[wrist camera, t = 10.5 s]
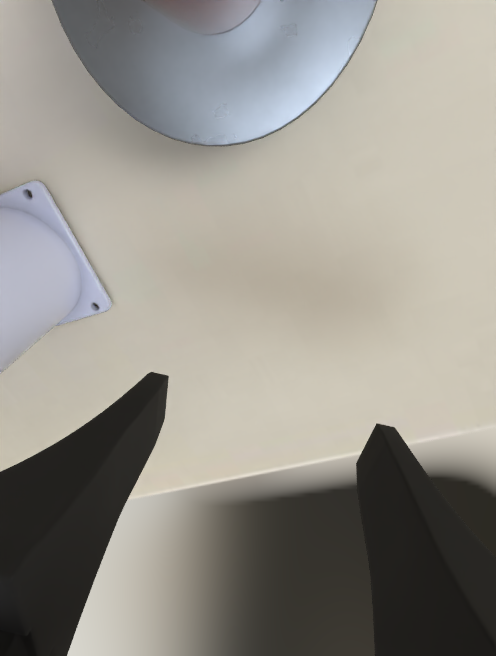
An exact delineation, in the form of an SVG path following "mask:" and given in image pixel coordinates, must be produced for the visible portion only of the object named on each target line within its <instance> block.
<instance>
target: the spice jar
mask: <svg viewBox="0 0 496 656" xmlns="http://www.w3.org/2000/svg"><path fill="white" fill-rule="evenodd" d="M141 1H142V2H144V3H145V4H147V5H148V6H149V7H151V8H152V9H154V10H155V11H157V12H158V13H160V14H161V15H163V16H164V17H166V18H167V19H168V20H170V21H171V22H173V23H174V24H176V25H177V26H179V27H180V28H182V29H184V30H187V31H189V32H192V33H195V34H202V35H214V34H219V33H223V32H226V31H228V30H231V29H232V28H234V27H236V26H238V25H239V24H240V23H242V22H243V21H244V20H245V19H246V18H247V17H248V16H249V15H250V14H251V13H252V12H253V11H254V9H255V8H256V7H257V5H258V4H259V3H260V1H261V0H141Z"/></svg>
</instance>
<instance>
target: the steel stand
mask: <svg viewBox="0 0 496 656" xmlns="http://www.w3.org/2000/svg"><path fill="white" fill-rule="evenodd" d="M52 3H53V5H54V8H55V10H56V13H57V15H58V18H59V20H60V23H61V25H62V27H63V29H64V31H65V33H66V35H67V37H68V39H69V41H70V43H71V45H72V47H73V49H74V50H75V52H76V54H77V55H78V57H79V58H80V60H81V61H82V63H83V64H84V66H85V68H86V69H87V71H88V72H89V73H90V75H91V76H92V77H93V78H94V80H95V81H96V82H97V83H98V85H99V86H100V87H101V88H102V90H103V91H104V92H105V93H106V94H107V95H108V96H109V97H110V98H111V99H112V100H113V101H114V102H115V103H116V104H117V105H118V106H119V107H120V108H122V109H123V110H124V111H125V112H127V113H128V114H129V115H130V116H132V117H133V118H134V119H135V120H137V121H139V122H140V123H142V124H143V125H145V126H147V127H148V128H150V129H152V130H153V131H155V132H158V133H160V134H162V135H164V136H167V137H169V138H171V139H175V140H178V141H181V142H185V143H188V144H194V145H201V146H231V145H238V144H244V143H248V142H251V141H254V140H257V139H261V138H264V137H266V136H268V135H270V134H272V133H274V132H276V131H278V130H281V129H282V128H284V127H285V126H287V125H288V124H290V123H292V122H293V121H295V120H296V119H298V118H299V117H300V116H301V115H303V114H304V113H305V112H306V111H307V110H309V109H310V108H311V107H312V106H313V105H314V104H316V103H317V102H318V100H319V99H320V98H321V97H322V96H323V95H324V94H325V93H326V92H327V91H328V90H329V88H330V87H331V86H332V85H333V84H334V82H335V81H336V80H337V78H338V77H339V76H340V74H341V73H342V71H343V70H344V69H345V67H346V66H347V64H348V63H349V61H350V59H351V57H352V56H353V54H354V52H355V51H356V49H357V47H358V45H359V44H360V42H361V40H362V37H363V35H364V33H365V31H366V29H367V26H368V24H369V22H370V20H371V17H372V15H373V12H374V9H375V6H376V3H377V0H261V1H260V3H259V4H258V5H257V7H256V8H255V9H254V11H253V12H252V13H251V14H250V15H249V16H248V17H247V18H246V19H245V20H244V21H243V22H242V23H240V24H239V25H238V26H236V27H234V28H232V29H231V30H228V31H226V32H223V33H219V34H214V35H202V34H195V33H192V32H189V31H187V30H184V29H182V28H180V27H179V26H177V25H176V24H174V23H173V22H171V21H170V20H168V19H167V18H166V17H164V16H163V15H161V14H160V13H158V12H157V11H155V10H154V9H152V8H151V7H149V6H148V5H147V4H145V3H144V2H142V1H141V0H52Z"/></svg>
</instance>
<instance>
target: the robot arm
mask: <svg viewBox="0 0 496 656" xmlns="http://www.w3.org/2000/svg"><path fill="white" fill-rule="evenodd" d="M28 190H30V192H31V193H32V197H30V196H29V195H28V192H27V191H28ZM94 303H96V304H97V305H98V306H99V308H97V307H96V306H95V305H94ZM111 306H112V302H111V300H110V298H109V296H108V295H107V293H106V291H105V289H104V288H103V286H102V284H101V282H100V280H99V279H98V277H97V275H96V273H95V272H94V270H93V268H92V266H91V265H90V263H89V261H88V259H87V258H86V256H85V254H84V252H83V251H82V249H81V247H80V245H79V244H78V242H77V240H76V238H75V237H74V235H73V233H72V231H71V230H70V228H69V226H68V224H67V223H66V221H65V219H64V217H63V216H62V214H61V212H60V210H59V209H58V207H57V205H56V203H55V202H54V200H53V198H52V196H51V195H50V193H49V191H48V189H47V188H46V186H45V185H44V184H43V183H42V182H41V181H38V180H35V181H30V182H28V183H26V184H23V185H21V186H19V187H16V188H14V189H12V190H9V191H7V192H5V193H2V194H0V374H1V373H2V372H3V371H4V370H5V369H6V368H8V367H9V366H10V365H11V364H12V363H13V362H14V361H16V360H17V359H18V358H19V357H20V356H21V355H22V354H23V353H25V352H26V351H27V350H28V349H29V348H30V347H31V346H33V345H34V344H35V343H36V342H37V341H38V340H39V339H40V338H42V337H43V336H44V335H45V334H46V333H47V332H48V331H50V330H51V329H52V328H53V327H54V326H57V325H61V324H64V323H68V322H71V321H75V320H78V319H82V318H85V317H88V316H92V315H95V314H99V313H102V312H106V311H108V310H109V309H110V308H111ZM168 377H169V376H167V375H162V374H158V373H154V372H150V373H148V374H147V375H146V376H145V377H144V378H143V379H142V380H141V381H139V382H138V383H137V384H136V385H135V386H134V387H133V388H131V389H130V390H129V391H128V392H127V393H126V394H124V395H123V396H122V397H121V398H120V399H118V400H117V401H116V402H114V403H113V404H112V405H111V406H109V407H108V408H107V409H106V410H104V411H103V412H102V413H100V414H99V415H98V416H96V417H95V418H93V419H92V420H91V421H89V422H88V423H86V424H85V425H84V426H82V427H81V428H79V429H78V430H76V431H75V432H73V433H71V434H70V435H68V436H67V437H65V438H63V439H62V440H60V441H59V442H57V443H55V444H54V445H52V446H50V447H48V448H46V449H45V450H43V451H41V452H39V453H37V454H36V455H34V456H32V457H30V458H28V459H26V460H24V461H22V462H20V463H18V464H16V465H14V466H12V467H10V468H8V469H5V470H3V471H1V472H0V656H67V654H68V651H69V648H70V645H71V642H72V640H73V636H74V634H75V631H76V628H77V625H78V622H79V620H80V617H81V614H82V612H83V609H84V606H85V603H86V601H87V598H88V595H89V593H90V590H91V587H92V585H93V582H94V579H95V577H96V574H97V571H98V569H99V566H100V564H101V561H102V559H103V556H104V553H105V551H106V548H107V546H108V543H109V541H110V538H111V536H112V533H113V531H114V528H115V526H116V523H117V521H118V518H119V516H120V514H121V512H122V509H123V507H124V505H125V503H126V501H127V499H128V497H129V495H130V493H131V491H132V489H133V488H134V486H135V484H136V482H137V480H138V478H139V476H140V474H141V472H142V470H143V468H144V466H145V464H146V462H147V460H148V458H149V456H150V454H151V452H152V450H153V448H154V446H155V444H156V441H157V438H158V436H159V433H160V430H161V428H162V425H163V422H164V419H165V409H166V398H167V388H168ZM356 466H357V493H358V500H359V506H360V513H361V519H362V524H363V531H364V536H365V543H366V549H367V555H368V561H369V568H370V576H371V590H372V604H373V621H374V642H375V656H496V557H495V556H494V555H493V554H492V553H491V552H490V551H489V550H488V549H487V548H486V546H485V545H484V544H483V543H482V542H481V541H480V540H479V538H478V537H477V536H476V535H475V534H474V533H473V532H472V531H471V530H470V529H469V527H468V526H467V525H466V524H465V523H464V522H463V520H462V519H461V518H460V517H459V515H458V514H457V513H456V512H455V510H454V509H453V508H452V507H451V505H450V504H449V503H448V502H447V500H446V499H445V498H444V497H443V495H442V494H441V493H440V491H439V490H438V489H437V488H436V486H435V485H434V483H433V482H432V481H431V479H430V478H429V476H428V475H427V474H426V472H425V471H424V469H423V468H422V466H421V465H420V464H419V462H418V461H417V459H416V458H415V456H414V455H413V453H412V452H411V451H410V449H409V448H408V446H407V445H406V443H405V442H404V440H403V439H402V437H401V436H400V434H399V433H398V432H397V430H396V429H395V427H390V426H386V425H381V424H376V426H375V428H374V430H373V432H372V434H371V436H370V437H369V439H368V441H367V443H366V445H365V447H364V449H363V451H362V453H361V455H360V457H359V459H358V461H357V463H356Z"/></svg>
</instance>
